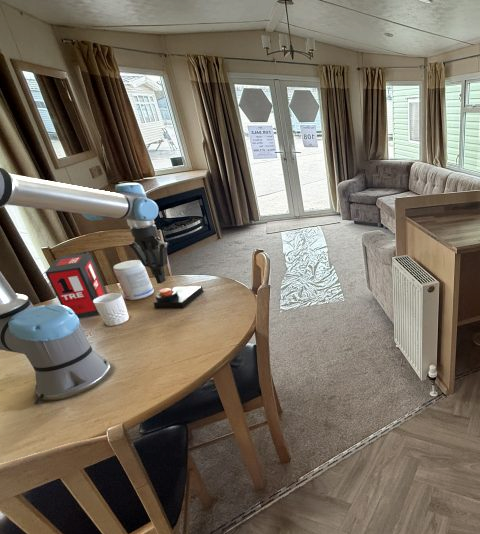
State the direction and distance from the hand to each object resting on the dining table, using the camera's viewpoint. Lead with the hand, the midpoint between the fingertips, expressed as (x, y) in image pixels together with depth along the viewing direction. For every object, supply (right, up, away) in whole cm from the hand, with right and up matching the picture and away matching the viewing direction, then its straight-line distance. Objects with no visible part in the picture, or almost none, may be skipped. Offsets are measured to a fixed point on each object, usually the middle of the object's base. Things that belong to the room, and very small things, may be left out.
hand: (161, 281), depth 135 cm
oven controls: (+2, -8, +7) cm, 11 cm away
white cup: (-10, -15, -8) cm, 19 cm away
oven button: (0, -5, +3) cm, 6 cm away
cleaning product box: (-29, -10, 0) cm, 30 cm away
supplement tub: (-17, -6, +10) cm, 21 cm away
